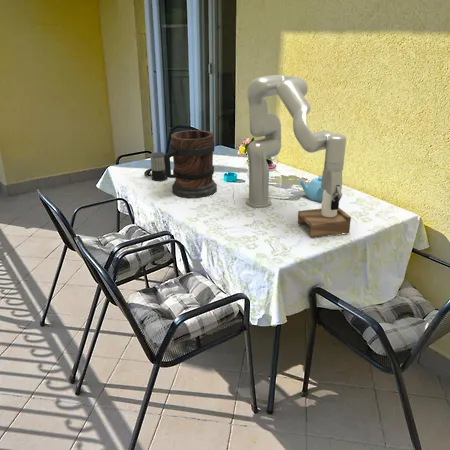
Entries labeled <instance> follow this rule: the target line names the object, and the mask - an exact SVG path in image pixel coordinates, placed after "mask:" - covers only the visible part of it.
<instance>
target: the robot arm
mask: <svg viewBox="0 0 450 450" xmlns="http://www.w3.org/2000/svg"><path fill="white" fill-rule="evenodd" d="M308 91H309V89H308V84H307V82H306V81H305V80H304V79H303V78H301V77H299V76H298V77H297V76H292V75H291V76H290V75H285V74H273V75H263V76H259V77H256V78H254V79H253V80H251V81H250V83H249V85H248V87H247V90H246V93H247V95H246V96H247V101H248V120H249V131H250V134H251V135H252V136H253V137H255V138H258V139H255V140H253V141H251V142H249V144H248V145H247V148H246V151H247V152H246V153H247V158H248V159H247V160H248V198H247V199H245V204H246V206H248V207H250V208H256V209H257V208H258V209H259V208H261V207H262V208H266V207H270V205H271V206H272V200H271V199H270V198H269V189H270V188H269V184H270V183H269V182H270V180H269V179H270V167H269V164H268V161H267V159H269V158H273V157H275V156H277V155H279V153H280V151H281V148H282V123H281V120H280V118H279V116H278V115H277V114H275V113H272V112H270V113H269V112H268V109H269V106H268V103H267V100H266V99H265V98H267V97H272V96H278V97H279V99H280V100H281V102H282V104H283V105H284V107H285V108H286V109H287V111H288V113H289V115H290V116H291V117H292V128H293V133H294V136H295V138H296V140H297V142H298V143H299V145H300V146H301V148H302V149H303V150H304V151H305V152H307V153H311V154H312V153H313V154H314V153H317V152H319V151H324V150H325V154H324V167H323V171H322V175H321V176H322V181H321V188H322V189H323V191H324V190H325V189H326V192H327V193H328V194H329V195H332V200H333V201H331V210H337V209H338V208H340V207H339V206H340V201H341V199H342V197H343V192H342V187H343V171H344V164H345V154H346V146H347V145H346V144H347V137H346V136H345V135H343V134H341V133H340V134H339V133H334V132H331V131H329V130H328V131H327V130H319V131H316V132H312V131H311V129H310V127H309V126H308V124H307V119H306V118H307V115H308V114H309V113H310V112H311V109H312V108H311V105H310V103H309V102H308V100H307V99H306V97H305V96H306V95H307V94H308ZM260 137H261V138H260ZM262 137H263V138H262ZM324 188H325V189H324ZM323 191H322V193H323ZM334 192H337V193H334ZM334 195H337V196H336V197H334ZM322 198H323V196H322Z"/></svg>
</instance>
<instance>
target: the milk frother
mask: <svg viewBox="0 0 450 450" xmlns="http://www.w3.org/2000/svg"><path fill="white" fill-rule="evenodd" d="M166 153H167V152H161V151H158V152H157V151H156V152H152V153H150V154H149V156H150V157H149V158H150V166H151V168H148V169H146V170H145V171H144V173H143V175H144V176H146V177H151V180H152V181H154V182H164V181H166V180H168V177H166V173H165V163H164V155H165V154H166Z"/></svg>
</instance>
